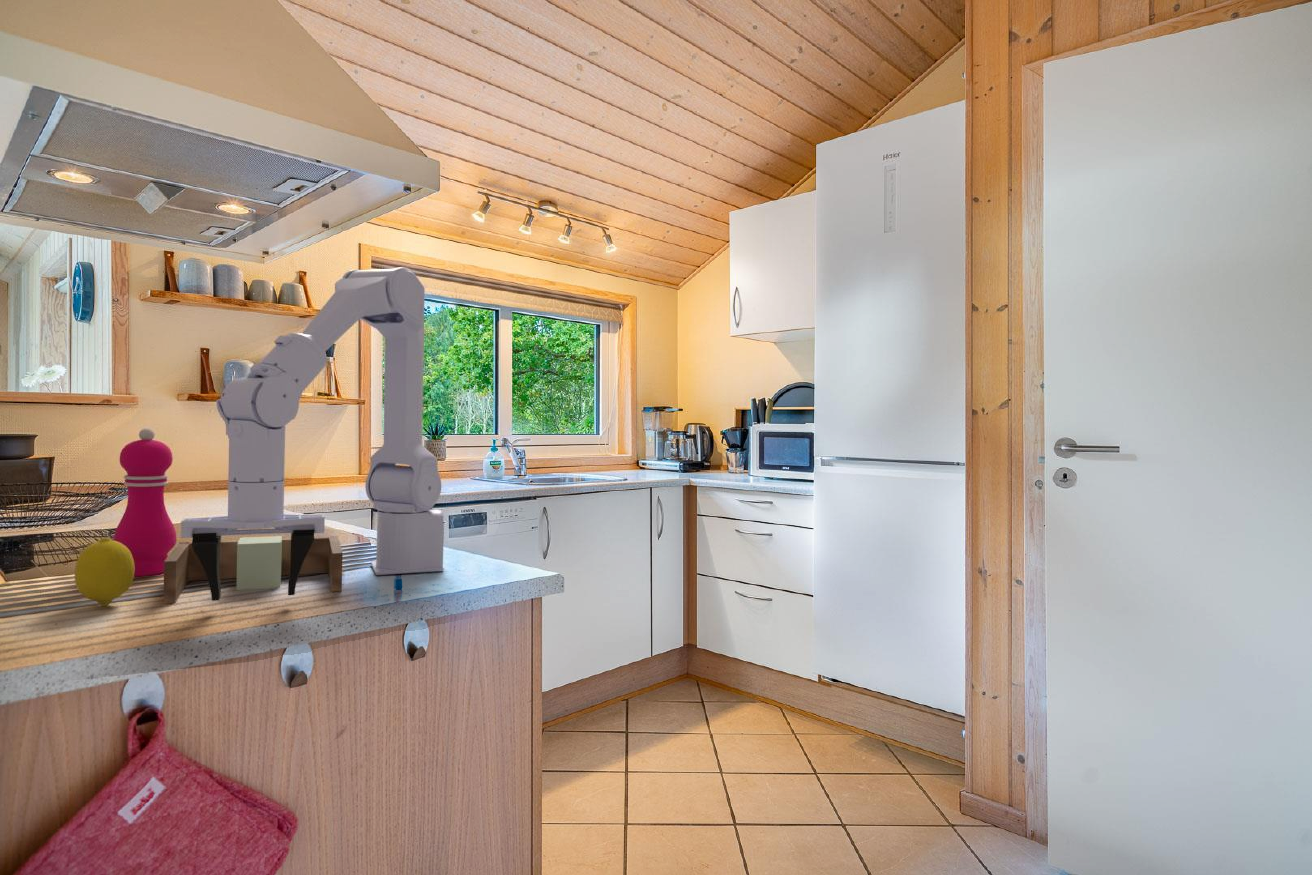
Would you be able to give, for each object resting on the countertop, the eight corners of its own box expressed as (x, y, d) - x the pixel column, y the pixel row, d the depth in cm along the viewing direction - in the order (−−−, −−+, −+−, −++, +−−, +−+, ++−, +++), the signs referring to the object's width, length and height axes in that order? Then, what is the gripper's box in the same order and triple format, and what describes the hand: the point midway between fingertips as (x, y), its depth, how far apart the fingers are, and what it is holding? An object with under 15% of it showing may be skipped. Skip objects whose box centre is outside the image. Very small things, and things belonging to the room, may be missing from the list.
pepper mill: (160, 563, 105) (162, 427, 104) (186, 570, 101) (188, 429, 100) (102, 572, 98) (104, 427, 98) (128, 580, 95) (130, 429, 94)
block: (281, 579, 99) (281, 535, 99) (280, 587, 94) (281, 542, 94) (239, 581, 97) (240, 537, 96) (236, 590, 92) (237, 544, 92)
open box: (337, 570, 105) (337, 536, 105) (341, 590, 94) (342, 552, 93) (179, 579, 96) (179, 542, 96) (163, 603, 85) (164, 561, 85)
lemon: (82, 615, 79) (83, 543, 79) (67, 605, 83) (68, 536, 82) (141, 605, 84) (142, 537, 83) (125, 596, 87) (125, 531, 87)
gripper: (177, 484, 77) (175, 610, 77) (326, 483, 83) (323, 599, 84) (186, 478, 83) (184, 594, 83) (324, 477, 89) (322, 585, 90)
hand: (254, 595), depth 84 cm, fingers open, 7 cm apart
